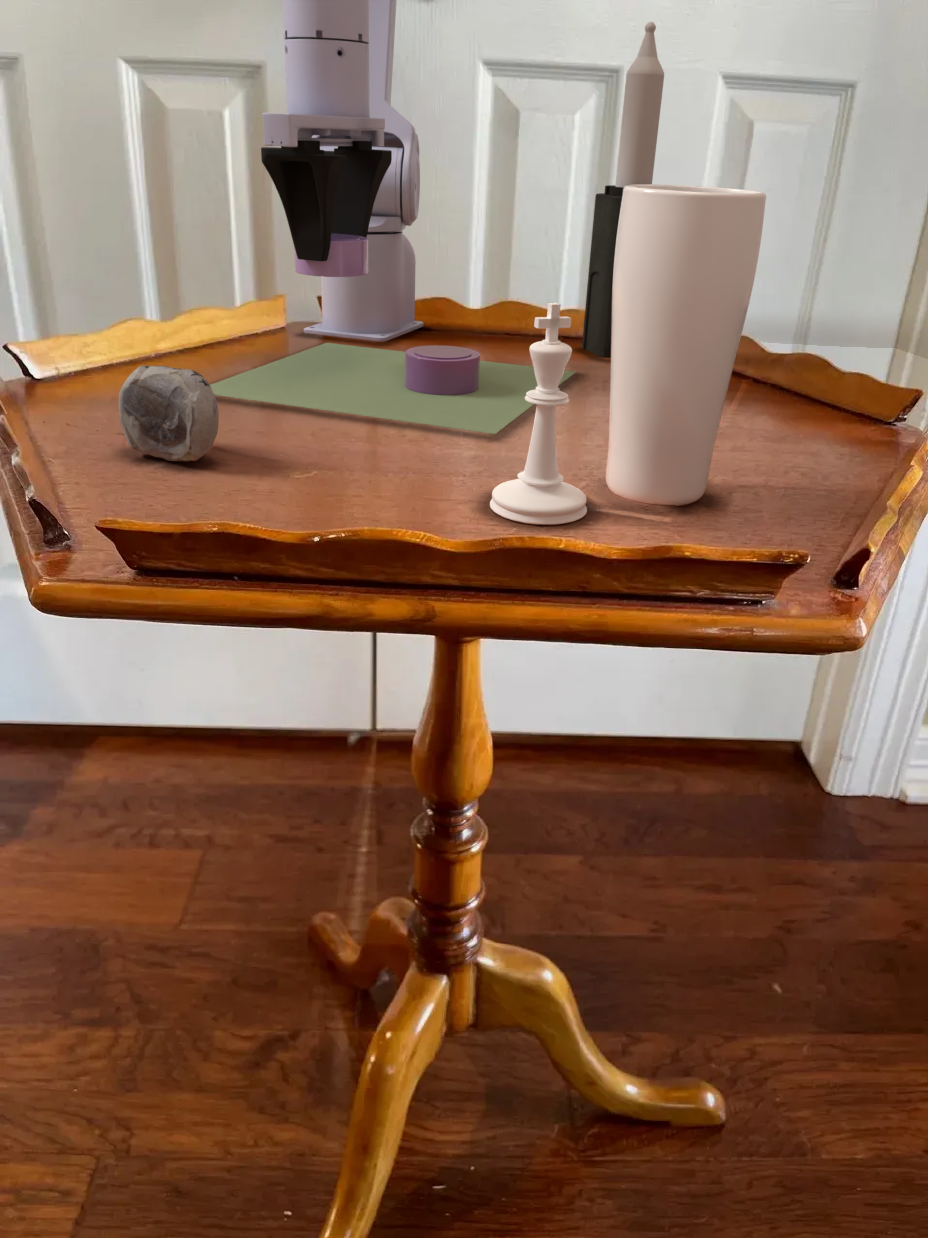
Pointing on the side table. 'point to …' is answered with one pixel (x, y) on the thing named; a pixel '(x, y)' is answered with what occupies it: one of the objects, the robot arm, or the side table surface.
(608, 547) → the side table surface
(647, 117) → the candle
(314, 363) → the placemat
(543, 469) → the chess piece
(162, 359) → the side table surface
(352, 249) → the lilac dish
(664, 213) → the drinking glass
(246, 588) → the side table surface
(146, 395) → the fossil
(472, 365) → the mauve dish
